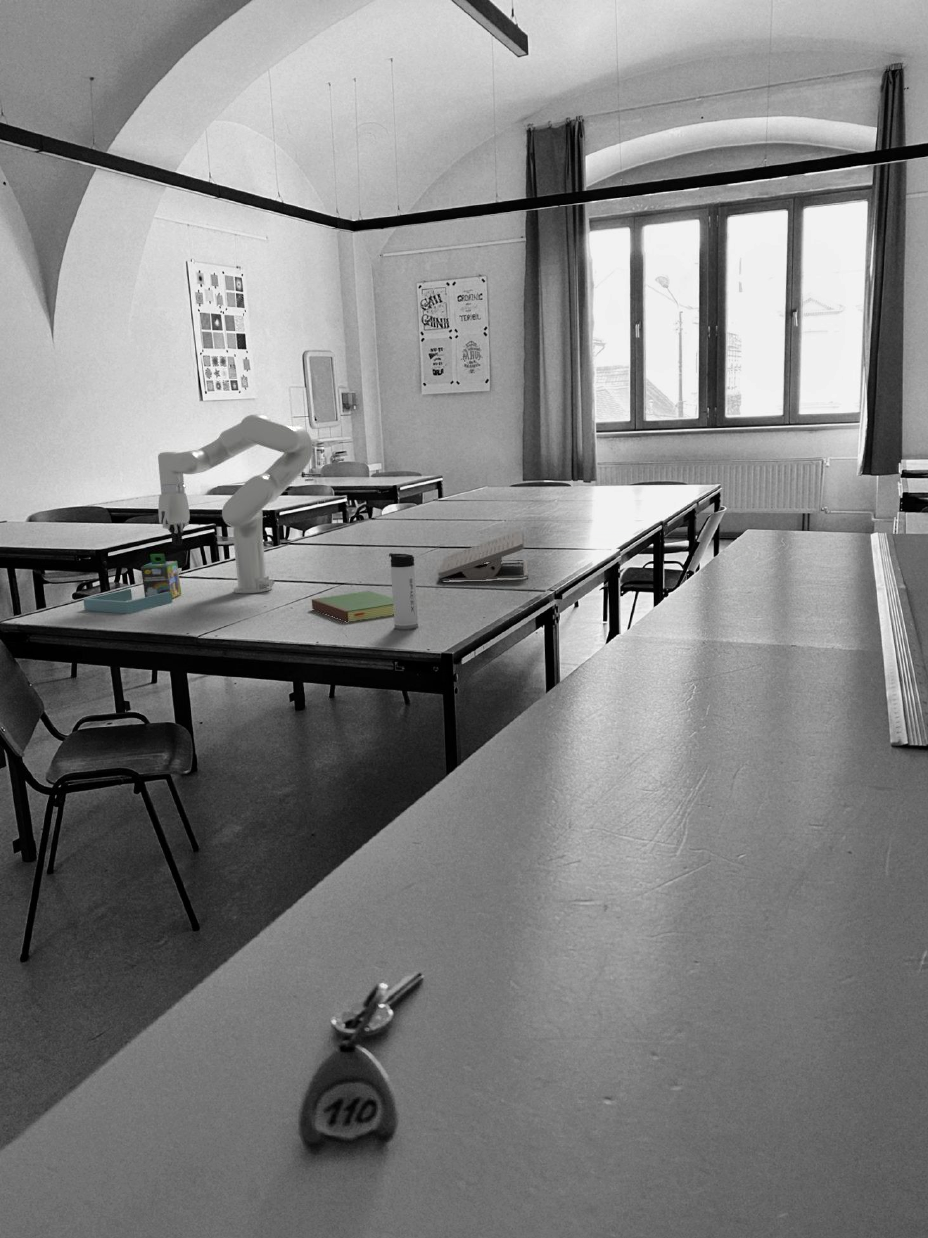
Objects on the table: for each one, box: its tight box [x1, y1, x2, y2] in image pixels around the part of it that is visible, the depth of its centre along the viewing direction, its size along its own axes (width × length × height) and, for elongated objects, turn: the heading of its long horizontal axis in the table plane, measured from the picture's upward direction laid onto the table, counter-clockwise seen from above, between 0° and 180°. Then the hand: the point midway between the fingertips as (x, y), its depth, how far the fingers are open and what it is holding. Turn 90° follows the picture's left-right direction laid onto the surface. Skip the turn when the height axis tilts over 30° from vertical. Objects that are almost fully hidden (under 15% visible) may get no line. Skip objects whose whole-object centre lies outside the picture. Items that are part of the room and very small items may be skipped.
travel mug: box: [388, 552, 419, 631], centre depth 261 cm, size 6×7×20 cm
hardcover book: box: [311, 590, 394, 623], centre depth 287 cm, size 25×19×4 cm
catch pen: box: [83, 588, 173, 615], centre depth 313 cm, size 19×18×4 cm
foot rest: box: [437, 530, 529, 582], centre depth 344 cm, size 39×30×13 cm
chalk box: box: [140, 553, 182, 600], centre depth 324 cm, size 9×9×15 cm
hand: (177, 544), depth 331 cm, fingers closed
